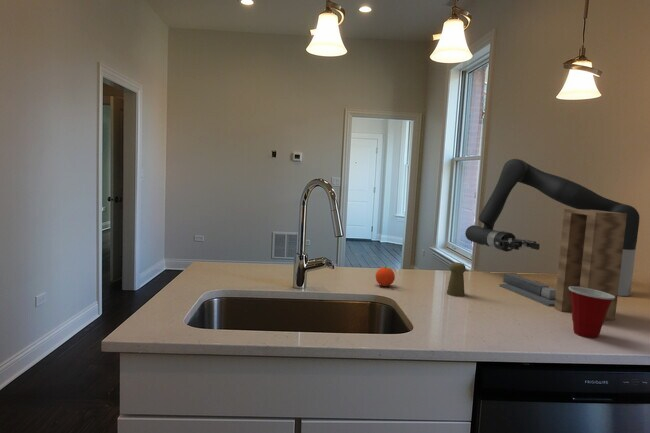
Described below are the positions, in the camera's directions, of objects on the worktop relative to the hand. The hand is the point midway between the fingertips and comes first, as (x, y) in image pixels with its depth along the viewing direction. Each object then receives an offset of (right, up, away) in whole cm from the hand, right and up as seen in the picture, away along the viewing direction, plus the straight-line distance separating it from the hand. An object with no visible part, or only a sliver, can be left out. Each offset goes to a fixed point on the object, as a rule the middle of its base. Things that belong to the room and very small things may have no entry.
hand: (528, 246), depth 163 cm
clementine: (-52, -14, -1) cm, 54 cm away
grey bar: (-1, -16, -1) cm, 16 cm away
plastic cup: (-4, -21, -44) cm, 48 cm away
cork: (-29, -16, -8) cm, 34 cm away
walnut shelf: (+6, -19, -25) cm, 32 cm away
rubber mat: (0, -17, -4) cm, 17 cm away
